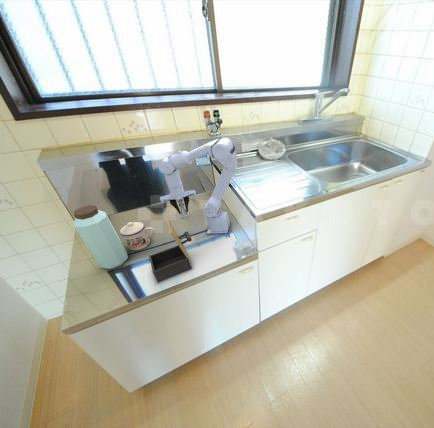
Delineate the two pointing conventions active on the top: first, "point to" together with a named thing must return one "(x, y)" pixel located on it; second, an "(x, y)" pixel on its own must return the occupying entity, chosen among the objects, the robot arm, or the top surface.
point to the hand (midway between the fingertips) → (183, 211)
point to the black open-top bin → (169, 263)
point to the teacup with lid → (136, 235)
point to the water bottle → (100, 237)
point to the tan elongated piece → (177, 238)
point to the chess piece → (183, 210)
